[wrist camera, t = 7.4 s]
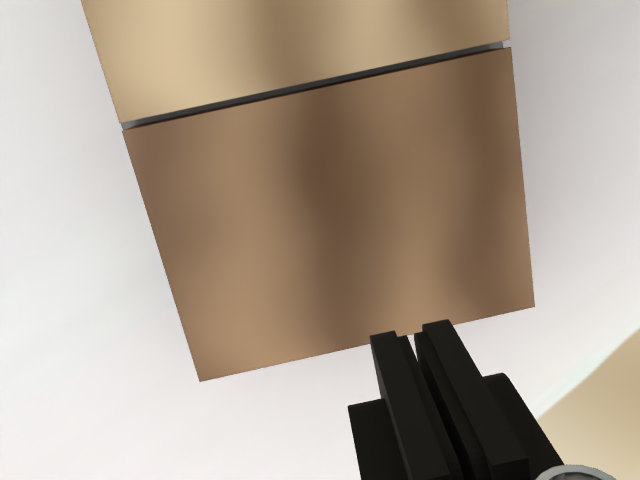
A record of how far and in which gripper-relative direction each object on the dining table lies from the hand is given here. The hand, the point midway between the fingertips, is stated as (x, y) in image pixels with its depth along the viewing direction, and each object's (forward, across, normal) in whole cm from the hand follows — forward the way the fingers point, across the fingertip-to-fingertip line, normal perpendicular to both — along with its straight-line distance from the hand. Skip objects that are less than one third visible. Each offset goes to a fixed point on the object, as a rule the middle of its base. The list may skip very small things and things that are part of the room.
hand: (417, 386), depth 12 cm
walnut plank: (+14, 0, +1) cm, 14 cm away
